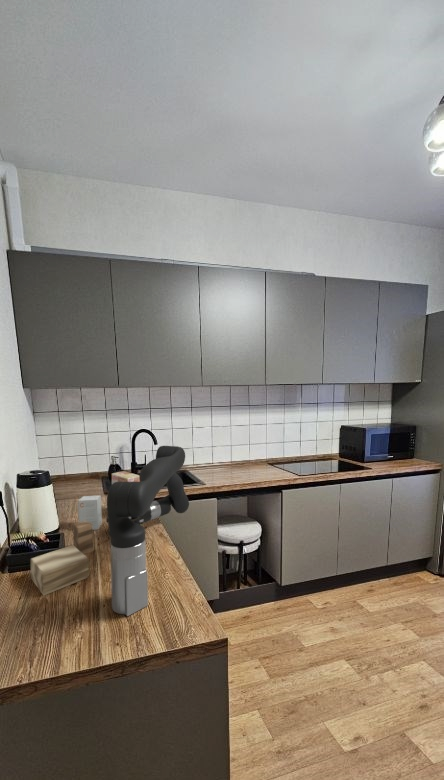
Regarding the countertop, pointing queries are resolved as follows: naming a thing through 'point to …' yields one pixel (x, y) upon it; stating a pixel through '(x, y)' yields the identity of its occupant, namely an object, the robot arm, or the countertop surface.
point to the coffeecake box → (124, 477)
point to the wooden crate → (59, 569)
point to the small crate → (83, 537)
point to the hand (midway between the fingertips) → (111, 523)
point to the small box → (90, 510)
